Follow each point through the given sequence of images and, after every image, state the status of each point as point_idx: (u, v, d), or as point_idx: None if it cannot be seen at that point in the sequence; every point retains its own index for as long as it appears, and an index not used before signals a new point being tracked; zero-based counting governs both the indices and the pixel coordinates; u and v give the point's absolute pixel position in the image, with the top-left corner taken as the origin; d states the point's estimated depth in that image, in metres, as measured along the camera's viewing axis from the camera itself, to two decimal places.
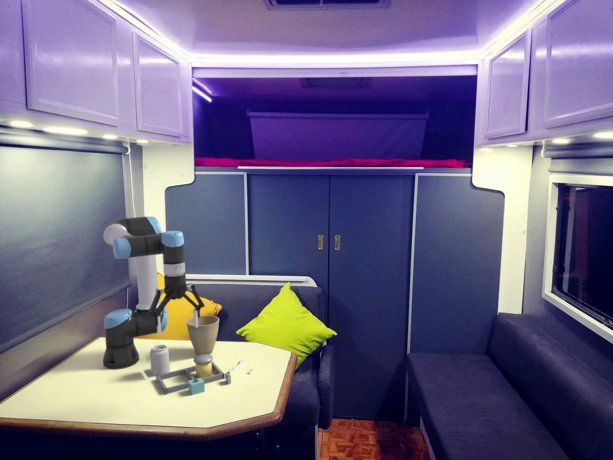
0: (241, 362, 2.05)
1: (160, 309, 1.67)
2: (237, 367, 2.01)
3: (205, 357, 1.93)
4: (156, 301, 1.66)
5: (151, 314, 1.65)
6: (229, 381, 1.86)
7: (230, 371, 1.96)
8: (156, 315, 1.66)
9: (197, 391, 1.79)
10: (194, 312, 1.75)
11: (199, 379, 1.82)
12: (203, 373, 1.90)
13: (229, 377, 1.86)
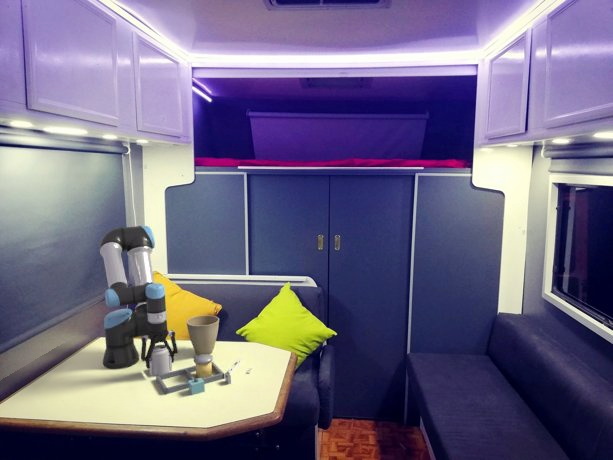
0: (238, 362, 2.05)
1: (149, 353, 1.94)
2: (235, 367, 2.01)
3: (205, 357, 1.93)
4: (144, 347, 1.92)
5: (143, 359, 1.92)
6: (229, 381, 1.86)
7: (229, 371, 1.95)
8: (148, 359, 1.93)
9: (197, 391, 1.79)
10: None
11: (199, 379, 1.82)
12: (203, 373, 1.90)
13: (229, 377, 1.86)
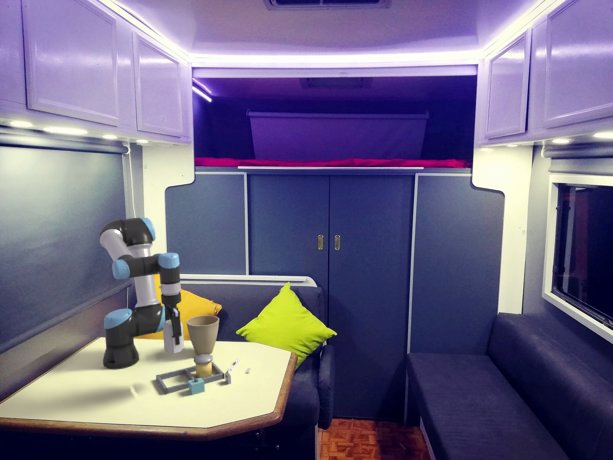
0: (237, 362, 2.05)
1: None
2: (234, 367, 2.00)
3: (205, 357, 1.93)
4: (165, 313, 1.88)
5: None
6: (229, 381, 1.86)
7: (229, 372, 1.95)
8: None
9: (197, 391, 1.79)
10: None
11: (199, 379, 1.82)
12: (203, 373, 1.90)
13: (229, 377, 1.86)
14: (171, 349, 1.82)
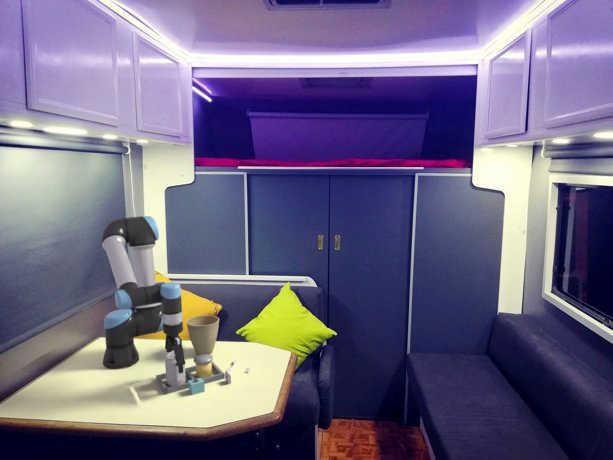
0: None
1: (167, 346, 1.90)
2: None
3: (205, 357, 1.93)
4: (166, 338, 1.91)
5: (165, 347, 1.93)
6: (229, 381, 1.86)
7: (228, 372, 1.95)
8: (166, 350, 1.92)
9: (197, 391, 1.79)
10: None
11: (199, 379, 1.82)
12: (203, 373, 1.90)
13: (229, 377, 1.86)
14: (173, 383, 1.84)
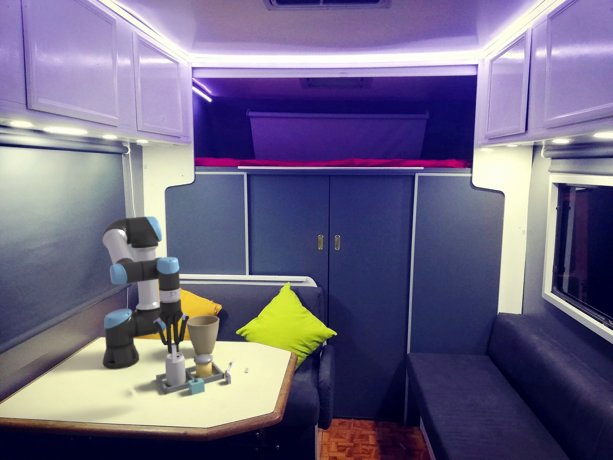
0: (232, 363, 2.04)
1: (169, 337, 1.71)
2: (231, 368, 2.00)
3: (205, 357, 1.93)
4: (160, 331, 1.69)
5: (165, 342, 1.70)
6: (229, 381, 1.86)
7: (228, 372, 1.95)
8: (170, 343, 1.72)
9: (197, 391, 1.79)
10: None
11: (199, 379, 1.82)
12: (203, 373, 1.90)
13: (229, 377, 1.86)
14: (173, 383, 1.84)
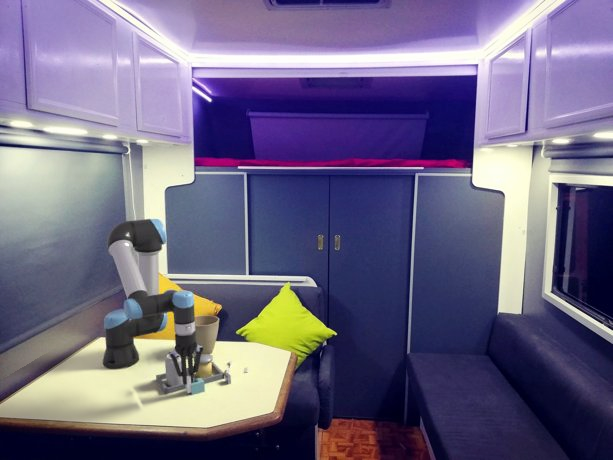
0: (231, 363, 2.04)
1: (184, 368, 1.76)
2: None
3: (205, 357, 1.93)
4: (176, 363, 1.74)
5: (180, 374, 1.75)
6: (229, 381, 1.86)
7: None
8: (184, 375, 1.76)
9: (197, 391, 1.79)
10: None
11: (199, 379, 1.82)
12: (203, 373, 1.90)
13: (229, 377, 1.86)
14: (173, 383, 1.84)
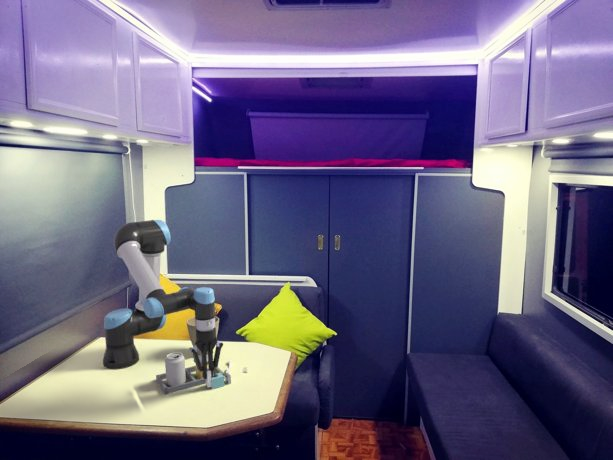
0: (230, 363, 2.04)
1: (204, 363, 1.80)
2: (229, 368, 2.00)
3: None
4: (197, 358, 1.78)
5: (200, 369, 1.79)
6: (229, 381, 1.86)
7: None
8: (205, 369, 1.80)
9: (217, 386, 1.83)
10: None
11: (219, 374, 1.86)
12: None
13: (229, 377, 1.86)
14: (173, 383, 1.84)
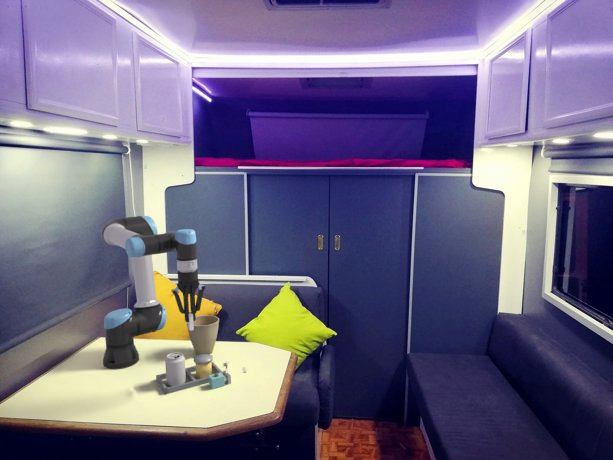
0: (227, 364, 2.03)
1: (186, 306, 1.78)
2: None
3: (205, 357, 1.93)
4: (178, 300, 1.77)
5: (182, 311, 1.78)
6: (229, 381, 1.86)
7: None
8: (187, 312, 1.79)
9: (217, 385, 1.83)
10: None
11: (219, 374, 1.86)
12: (203, 373, 1.90)
13: (229, 377, 1.86)
14: (173, 383, 1.84)
